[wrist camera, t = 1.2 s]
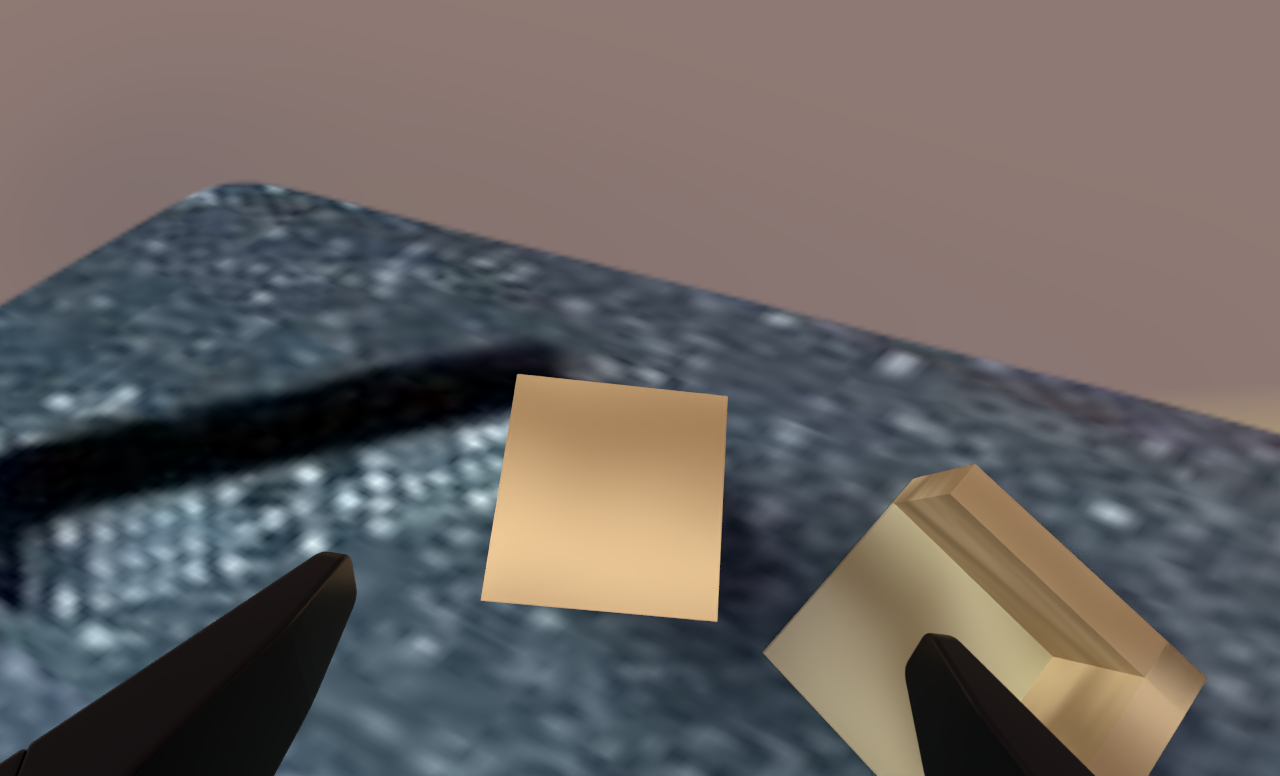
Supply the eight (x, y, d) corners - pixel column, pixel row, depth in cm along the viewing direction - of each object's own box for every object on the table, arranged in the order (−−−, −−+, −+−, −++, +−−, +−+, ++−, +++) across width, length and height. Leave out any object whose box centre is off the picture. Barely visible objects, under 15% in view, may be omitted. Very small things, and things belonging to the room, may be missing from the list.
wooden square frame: (959, 864, 19) (1047, 941, 16) (762, 652, 21) (798, 675, 17) (1100, 656, 22) (1207, 678, 18) (913, 478, 23) (975, 463, 19)
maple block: (664, 591, 21) (717, 621, 12) (534, 579, 21) (480, 600, 12) (674, 457, 23) (728, 388, 13) (552, 444, 23) (518, 365, 13)
